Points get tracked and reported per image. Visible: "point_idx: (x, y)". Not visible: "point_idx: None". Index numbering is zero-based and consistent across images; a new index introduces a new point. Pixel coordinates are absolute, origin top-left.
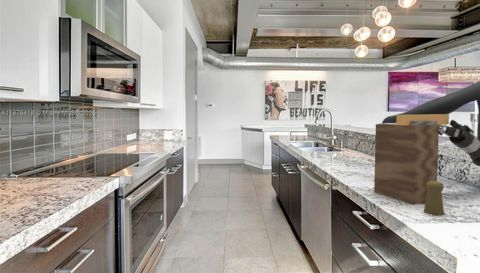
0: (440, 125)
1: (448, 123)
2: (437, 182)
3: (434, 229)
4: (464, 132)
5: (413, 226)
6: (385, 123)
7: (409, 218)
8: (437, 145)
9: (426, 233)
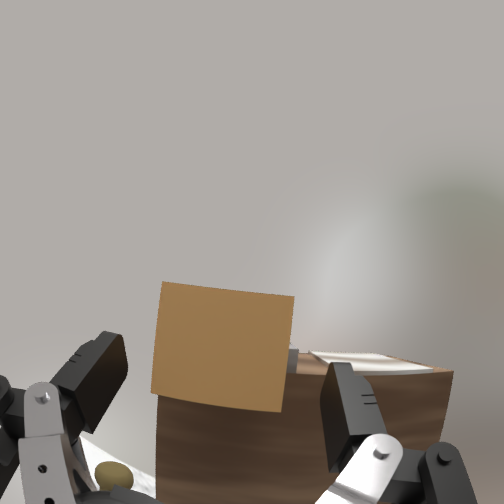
0: (345, 472)
1: (152, 383)
2: (106, 463)
3: (91, 463)
4: (12, 458)
5: (117, 462)
6: (375, 355)
7: (137, 482)
8: (157, 460)
9: (96, 451)
